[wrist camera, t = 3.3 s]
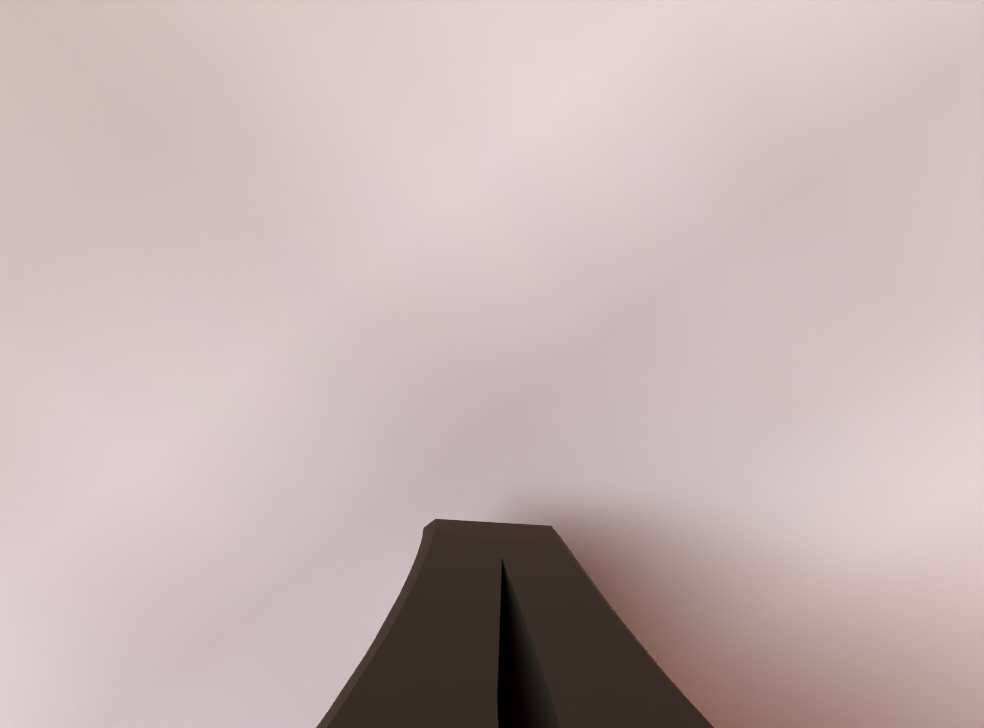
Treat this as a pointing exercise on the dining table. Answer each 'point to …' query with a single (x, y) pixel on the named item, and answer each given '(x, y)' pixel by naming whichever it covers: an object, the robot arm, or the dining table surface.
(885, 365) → the dining table surface
